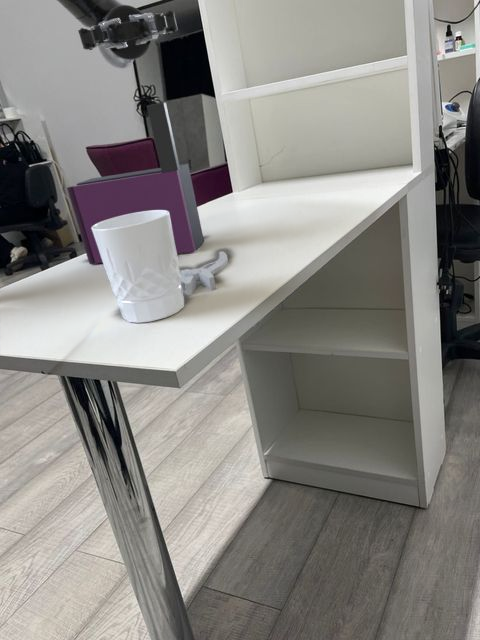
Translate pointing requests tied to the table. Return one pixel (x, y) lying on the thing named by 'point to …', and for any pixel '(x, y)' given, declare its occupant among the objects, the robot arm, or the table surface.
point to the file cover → (137, 193)
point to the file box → (187, 193)
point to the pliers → (203, 274)
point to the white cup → (141, 264)
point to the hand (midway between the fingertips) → (130, 28)
